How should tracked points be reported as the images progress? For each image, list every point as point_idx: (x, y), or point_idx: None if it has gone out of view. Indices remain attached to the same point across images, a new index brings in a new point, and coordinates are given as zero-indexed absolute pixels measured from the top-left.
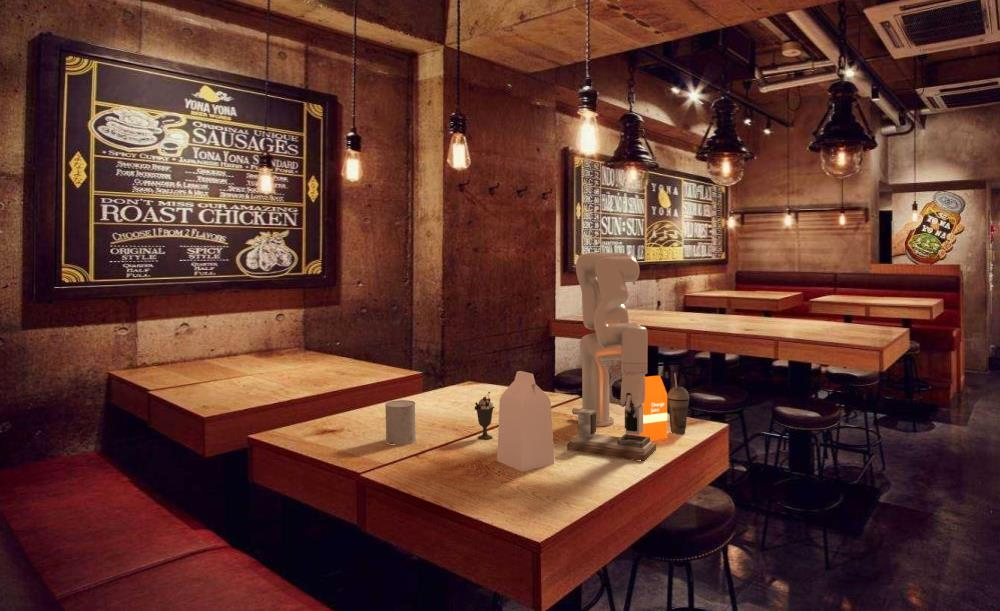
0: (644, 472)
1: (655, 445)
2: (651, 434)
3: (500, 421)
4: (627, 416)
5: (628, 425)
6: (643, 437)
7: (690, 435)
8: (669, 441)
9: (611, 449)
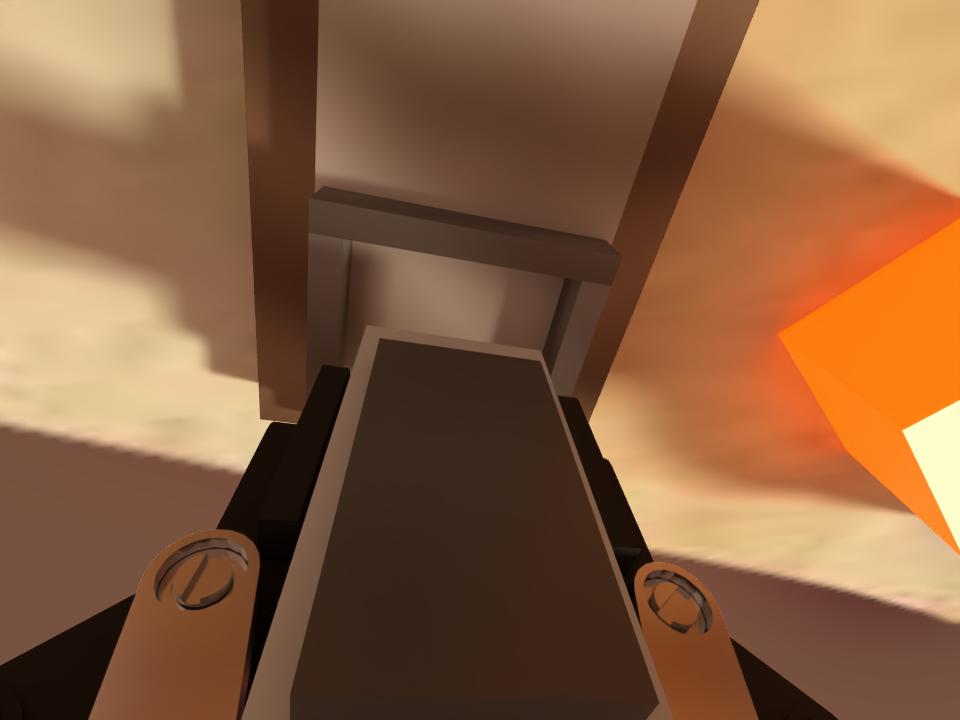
0: (50, 412)
1: None
2: (837, 404)
3: None
4: (159, 582)
5: (258, 448)
6: None
7: (897, 542)
8: (782, 468)
9: (272, 114)
